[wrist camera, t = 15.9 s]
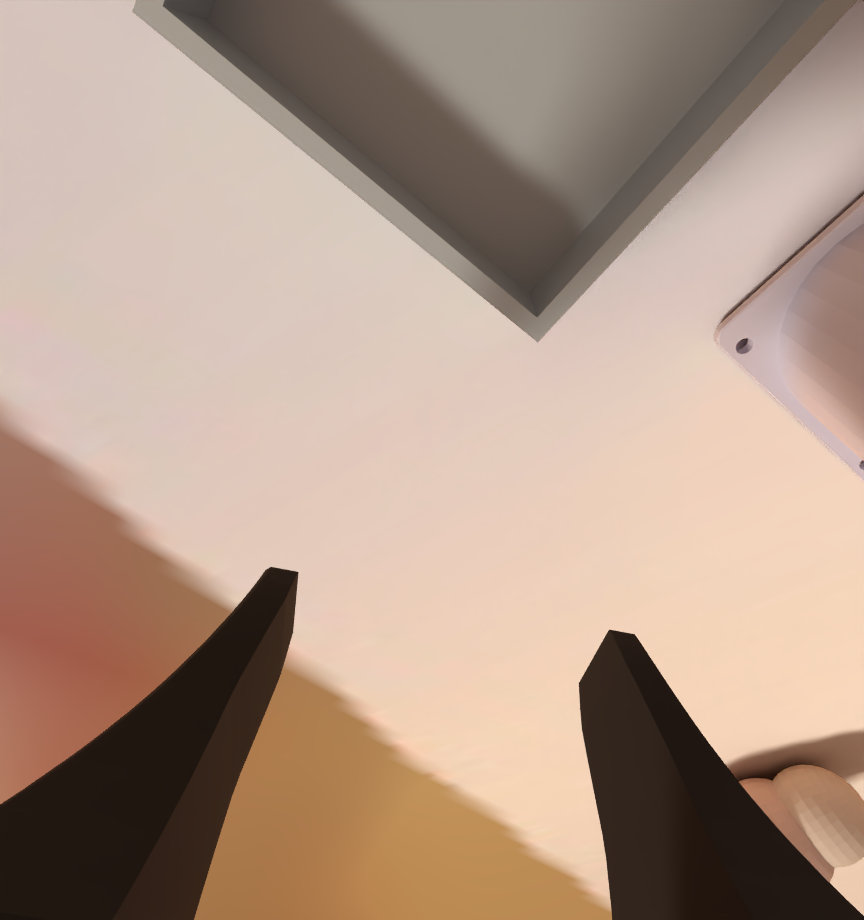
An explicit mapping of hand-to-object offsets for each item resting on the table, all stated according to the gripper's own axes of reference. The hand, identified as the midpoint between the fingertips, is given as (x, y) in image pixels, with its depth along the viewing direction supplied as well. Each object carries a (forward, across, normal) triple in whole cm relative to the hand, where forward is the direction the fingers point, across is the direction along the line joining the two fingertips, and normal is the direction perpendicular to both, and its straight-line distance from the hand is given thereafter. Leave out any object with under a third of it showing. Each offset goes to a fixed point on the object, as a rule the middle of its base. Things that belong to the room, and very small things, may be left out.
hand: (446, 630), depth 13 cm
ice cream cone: (+10, -21, +21) cm, 31 cm away
